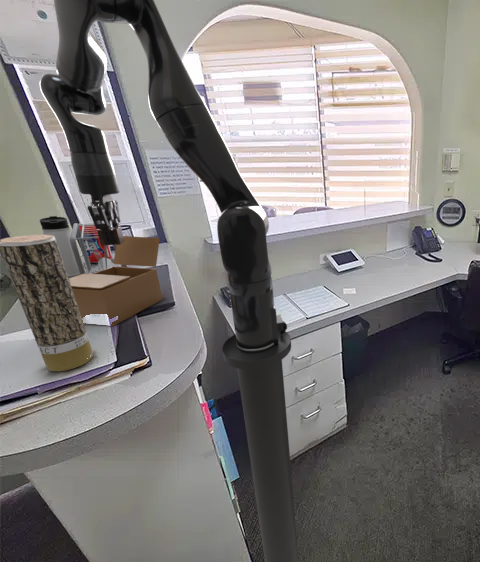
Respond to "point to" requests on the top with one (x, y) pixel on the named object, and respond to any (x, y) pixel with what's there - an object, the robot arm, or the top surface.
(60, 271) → the paper tube
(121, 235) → the block
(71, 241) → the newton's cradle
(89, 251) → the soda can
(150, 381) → the top surface
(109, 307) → the carton
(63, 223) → the travel mug
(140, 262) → the flap
